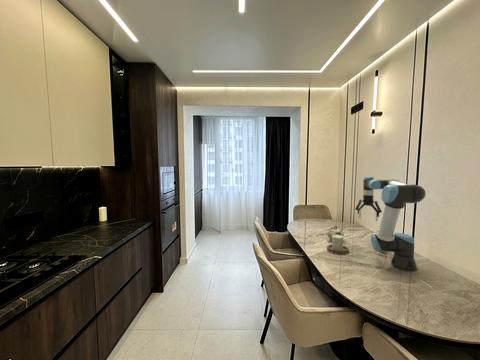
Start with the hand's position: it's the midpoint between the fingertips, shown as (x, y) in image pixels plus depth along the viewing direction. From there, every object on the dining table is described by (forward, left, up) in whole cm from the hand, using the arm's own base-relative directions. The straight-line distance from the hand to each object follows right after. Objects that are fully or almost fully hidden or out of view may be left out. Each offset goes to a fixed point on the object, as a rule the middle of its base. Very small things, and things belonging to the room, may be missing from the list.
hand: (367, 219), depth 192 cm
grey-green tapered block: (+16, +21, -26) cm, 37 cm away
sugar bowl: (+30, -2, -27) cm, 40 cm away
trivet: (+16, +21, -27) cm, 38 cm away
